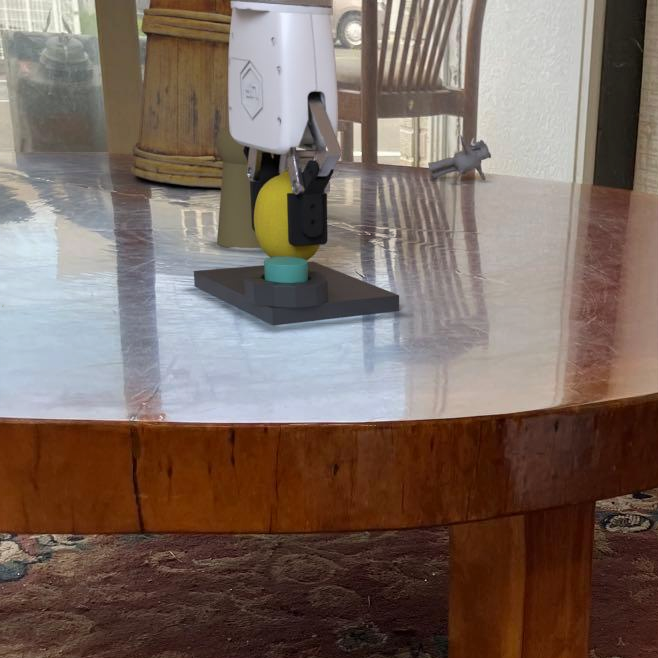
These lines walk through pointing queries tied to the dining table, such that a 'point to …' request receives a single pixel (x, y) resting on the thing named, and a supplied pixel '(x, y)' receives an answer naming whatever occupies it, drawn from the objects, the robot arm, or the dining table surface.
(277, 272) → the button
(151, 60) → the tankard
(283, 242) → the lemon
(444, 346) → the dining table surface
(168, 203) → the dining table surface
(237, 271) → the dark button base
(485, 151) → the grey branched piece
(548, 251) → the dining table surface
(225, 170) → the cork
